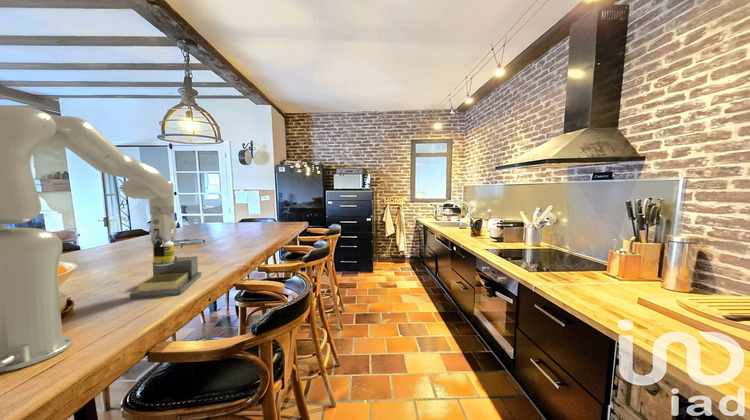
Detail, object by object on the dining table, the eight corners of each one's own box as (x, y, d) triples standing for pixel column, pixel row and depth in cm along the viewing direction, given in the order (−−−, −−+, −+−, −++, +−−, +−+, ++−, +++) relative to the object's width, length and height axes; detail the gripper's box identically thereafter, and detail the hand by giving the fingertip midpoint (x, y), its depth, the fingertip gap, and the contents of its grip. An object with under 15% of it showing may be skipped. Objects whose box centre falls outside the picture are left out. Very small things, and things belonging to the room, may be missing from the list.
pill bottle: (155, 267, 95) (154, 238, 94) (151, 264, 99) (150, 236, 98) (176, 264, 100) (175, 236, 99) (172, 261, 104) (171, 234, 103)
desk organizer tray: (181, 294, 96) (180, 266, 95) (130, 299, 91) (128, 270, 90) (201, 276, 117) (200, 253, 116) (160, 279, 112) (159, 255, 111)
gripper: (162, 212, 91) (164, 259, 92) (182, 209, 107) (184, 248, 108) (137, 212, 88) (140, 260, 90) (161, 209, 105) (163, 249, 106)
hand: (164, 253), depth 99 cm, fingers closed on pill bottle, 6 cm apart
